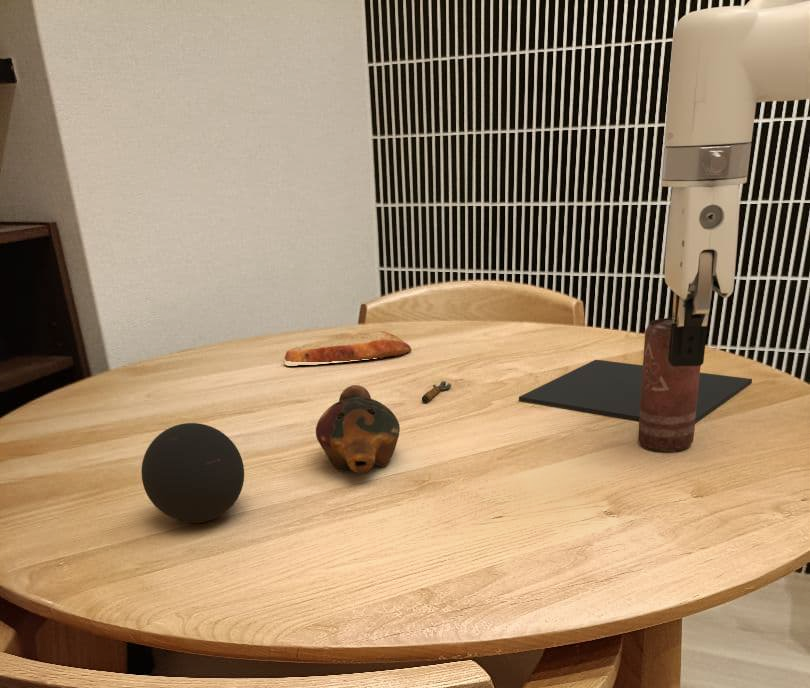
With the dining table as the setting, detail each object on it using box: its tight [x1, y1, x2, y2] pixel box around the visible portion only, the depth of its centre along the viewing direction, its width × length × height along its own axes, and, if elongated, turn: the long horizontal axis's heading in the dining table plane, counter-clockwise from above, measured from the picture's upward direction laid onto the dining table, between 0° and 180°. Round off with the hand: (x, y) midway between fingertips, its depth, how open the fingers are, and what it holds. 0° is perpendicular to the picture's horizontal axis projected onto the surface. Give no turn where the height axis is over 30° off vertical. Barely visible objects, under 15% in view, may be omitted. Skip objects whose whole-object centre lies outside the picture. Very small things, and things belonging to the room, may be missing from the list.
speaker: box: [141, 422, 245, 524], centre depth 82 cm, size 10×10×10 cm
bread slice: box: [283, 330, 412, 362], centre depth 140 cm, size 18×18×4 cm
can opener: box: [421, 380, 452, 403], centre depth 118 cm, size 9×2×1 cm, turn 152°
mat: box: [518, 359, 753, 424], centre depth 113 cm, size 24×22×1 cm
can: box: [637, 317, 702, 453], centre depth 92 cm, size 6×6×14 cm
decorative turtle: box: [315, 384, 401, 474], centre depth 94 cm, size 10×15×8 cm, turn 10°
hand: (685, 363), depth 84 cm, fingers closed
